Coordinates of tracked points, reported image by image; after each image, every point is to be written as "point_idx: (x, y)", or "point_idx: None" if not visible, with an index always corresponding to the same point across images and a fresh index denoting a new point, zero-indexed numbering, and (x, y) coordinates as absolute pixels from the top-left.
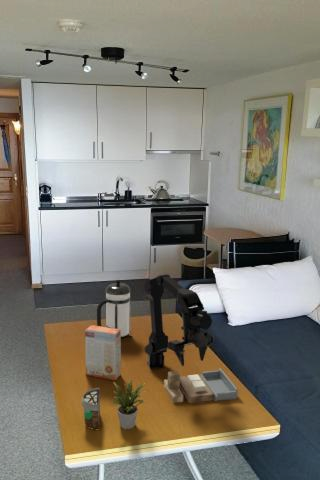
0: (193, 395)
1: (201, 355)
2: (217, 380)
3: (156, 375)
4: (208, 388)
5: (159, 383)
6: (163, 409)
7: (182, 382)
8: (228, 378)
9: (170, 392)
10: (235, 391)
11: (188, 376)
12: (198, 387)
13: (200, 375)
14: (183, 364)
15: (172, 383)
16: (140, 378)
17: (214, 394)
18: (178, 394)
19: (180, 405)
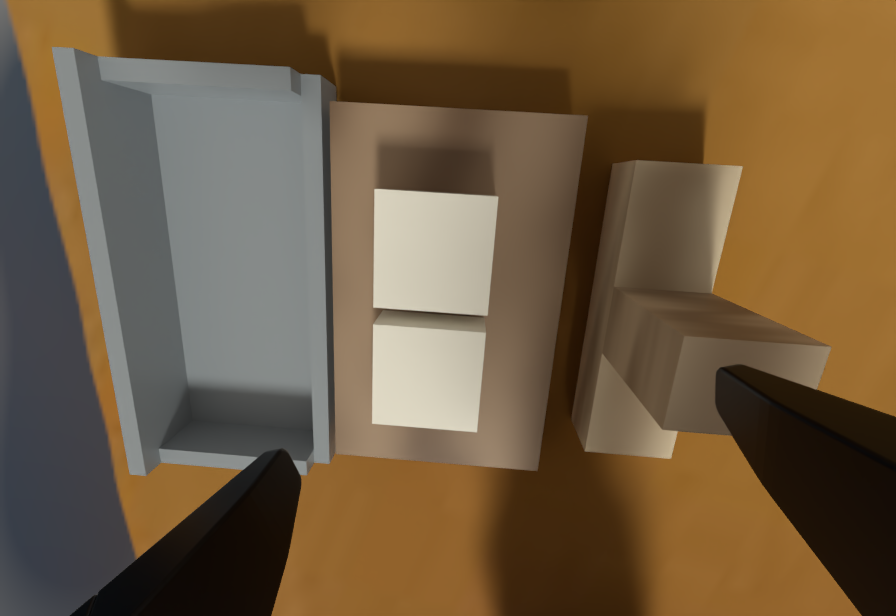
0: (534, 135)
1: (244, 551)
2: (219, 376)
3: (630, 563)
4: (343, 219)
5: (662, 466)
6: (836, 88)
7: (532, 381)
8: (99, 285)
9: (712, 260)
10: (98, 62)
11: (473, 411)
12: (457, 194)
13: (336, 440)
14: (759, 376)
15: (719, 307)
16: (760, 560)
17: (321, 117)
18: (676, 183)
19: (660, 110)
